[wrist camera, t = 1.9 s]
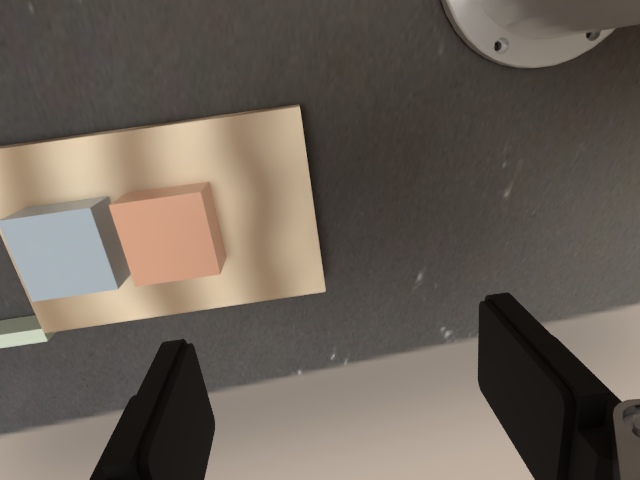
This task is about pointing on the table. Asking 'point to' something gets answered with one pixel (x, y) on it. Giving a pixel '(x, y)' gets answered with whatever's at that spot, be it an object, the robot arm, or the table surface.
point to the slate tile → (66, 248)
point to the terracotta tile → (169, 233)
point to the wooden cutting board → (175, 170)
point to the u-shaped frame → (22, 332)
